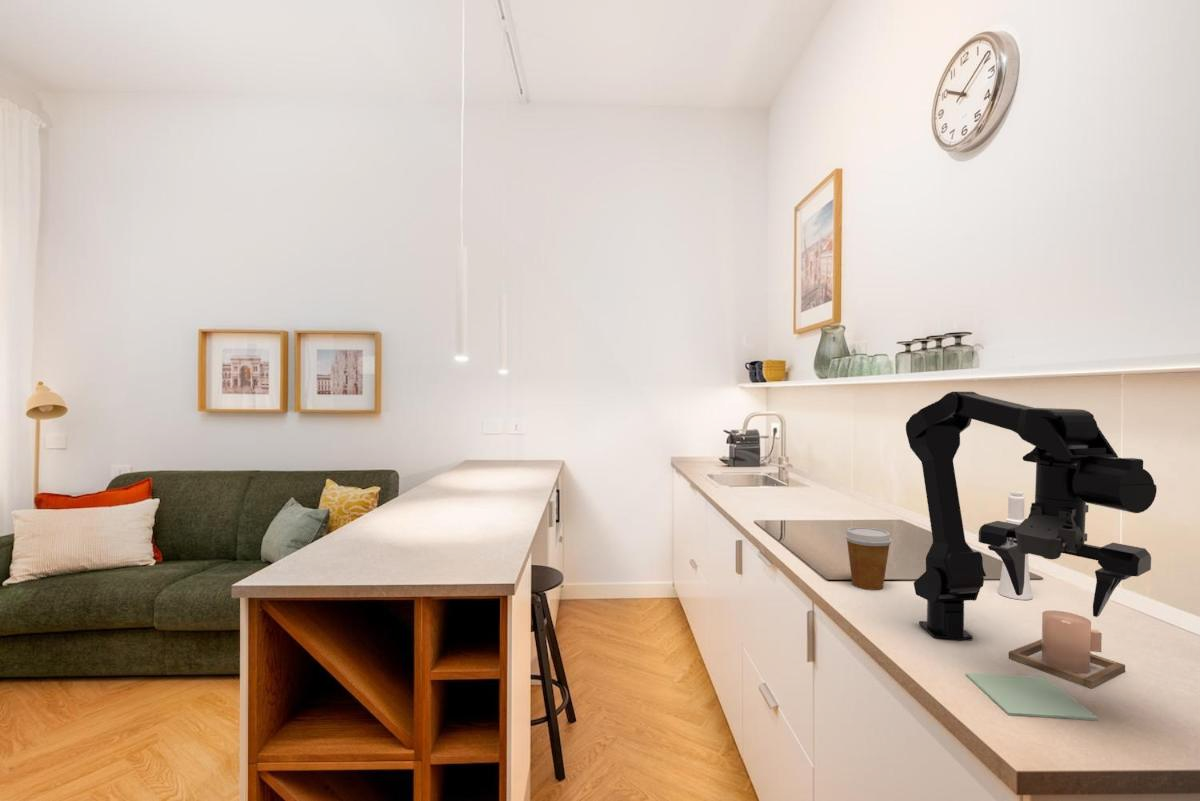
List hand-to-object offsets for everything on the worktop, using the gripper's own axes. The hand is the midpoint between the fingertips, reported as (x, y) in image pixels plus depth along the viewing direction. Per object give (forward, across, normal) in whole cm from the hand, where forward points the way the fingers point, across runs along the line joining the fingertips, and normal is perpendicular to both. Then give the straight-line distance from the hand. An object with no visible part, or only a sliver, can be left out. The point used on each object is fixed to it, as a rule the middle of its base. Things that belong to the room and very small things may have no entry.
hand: (1055, 605), depth 84 cm
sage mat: (+12, -1, -5) cm, 13 cm away
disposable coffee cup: (+14, -42, +20) cm, 48 cm away
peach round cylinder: (+13, -2, +11) cm, 17 cm away
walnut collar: (+13, -2, +11) cm, 17 cm away
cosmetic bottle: (+14, -21, +40) cm, 48 cm away
